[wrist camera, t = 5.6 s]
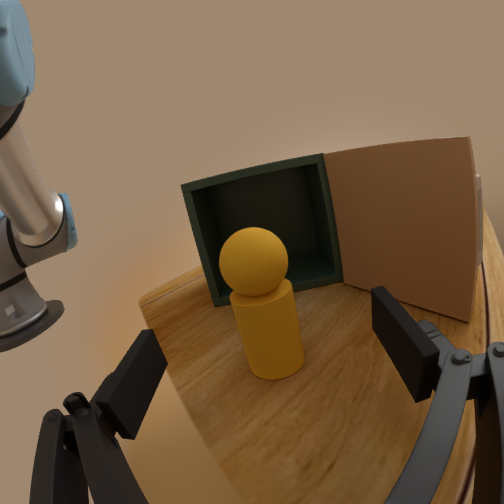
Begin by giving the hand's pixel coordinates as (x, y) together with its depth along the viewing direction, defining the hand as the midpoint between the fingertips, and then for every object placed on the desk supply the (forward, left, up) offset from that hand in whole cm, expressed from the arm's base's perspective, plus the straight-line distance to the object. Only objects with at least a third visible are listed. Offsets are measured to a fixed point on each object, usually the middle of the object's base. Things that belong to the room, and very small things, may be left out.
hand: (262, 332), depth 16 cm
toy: (+1, +4, -6) cm, 7 cm away
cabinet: (+5, +22, -6) cm, 24 cm away
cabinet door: (+17, +8, -6) cm, 19 cm away
